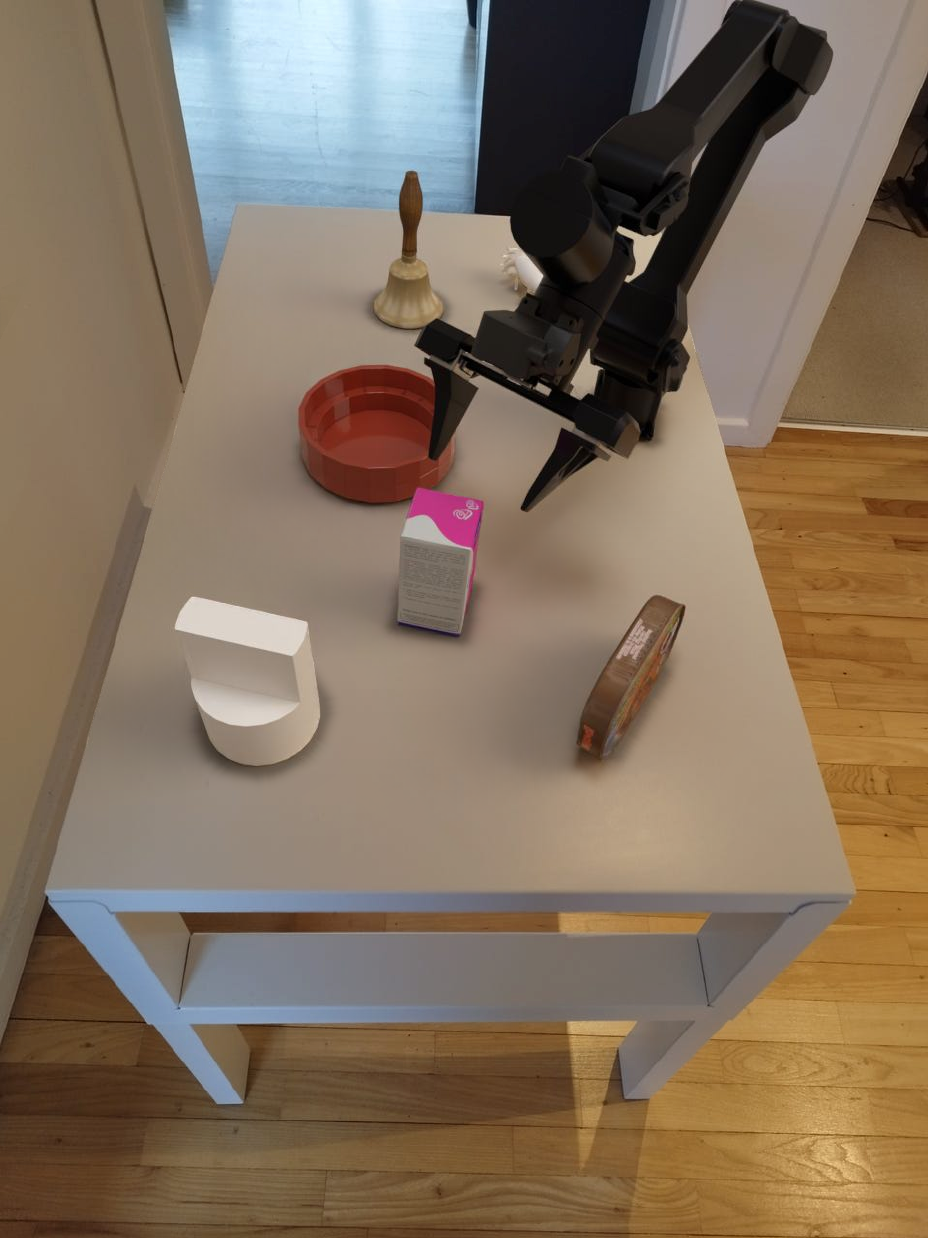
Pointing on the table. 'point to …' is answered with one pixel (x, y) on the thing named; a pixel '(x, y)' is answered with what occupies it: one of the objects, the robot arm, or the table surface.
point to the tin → (629, 676)
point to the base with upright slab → (250, 679)
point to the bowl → (372, 433)
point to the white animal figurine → (522, 269)
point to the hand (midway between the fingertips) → (476, 484)
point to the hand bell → (408, 270)
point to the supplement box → (438, 561)
